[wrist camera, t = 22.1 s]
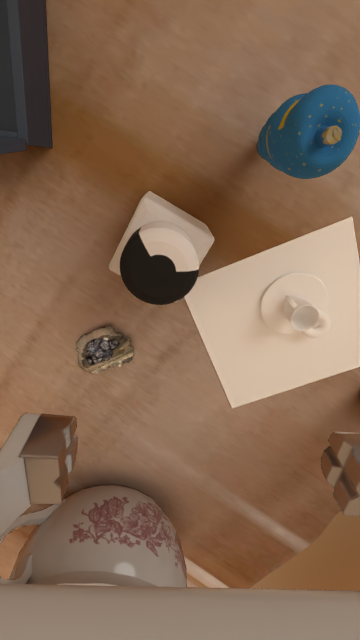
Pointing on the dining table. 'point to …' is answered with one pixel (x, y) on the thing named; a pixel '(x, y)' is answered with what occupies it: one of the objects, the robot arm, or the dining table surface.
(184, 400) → the dining table surface
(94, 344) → the blueberries
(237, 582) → the dining table surface
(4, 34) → the chest
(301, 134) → the ornament
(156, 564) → the milk jug
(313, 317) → the teacup and saucer
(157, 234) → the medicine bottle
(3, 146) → the lid
